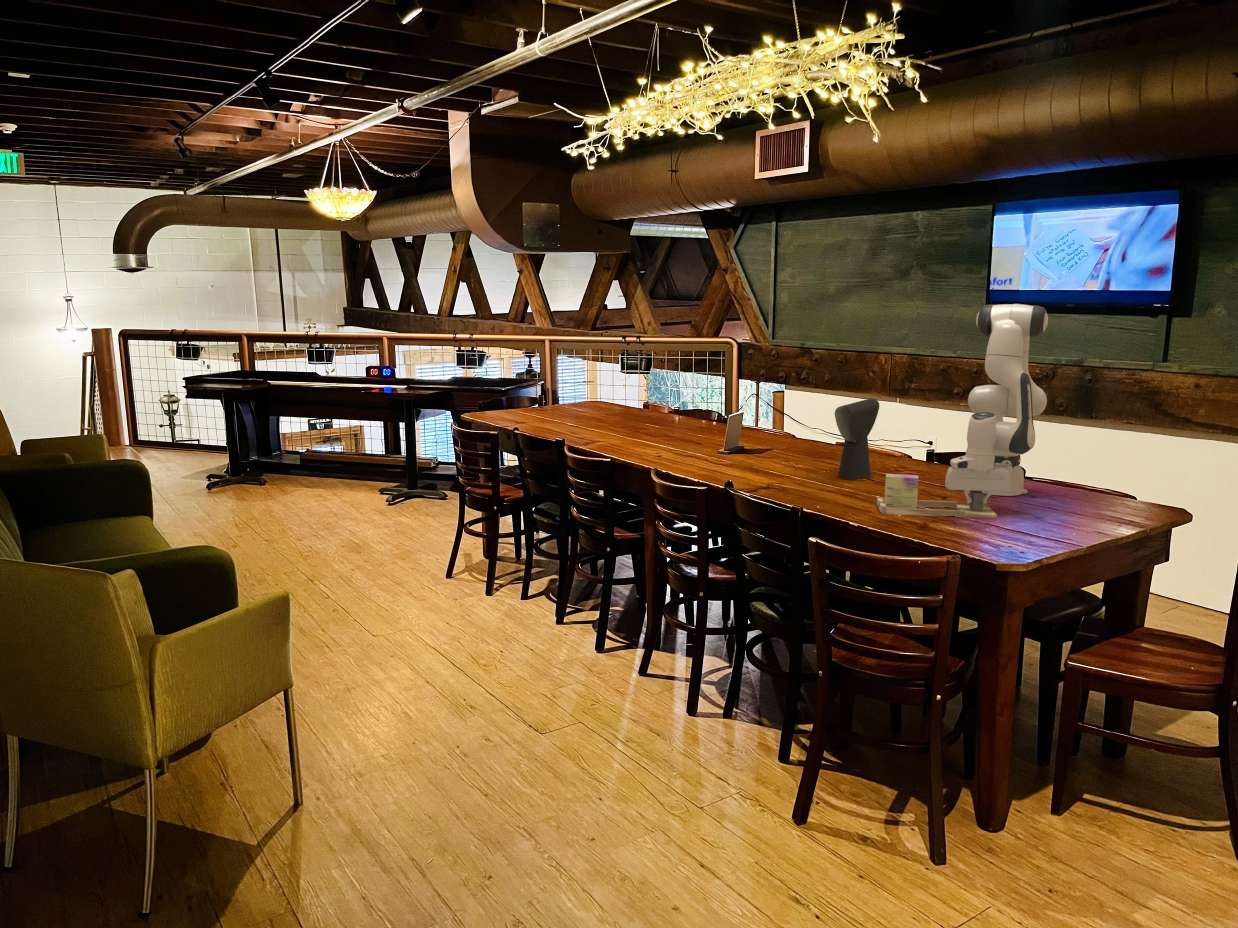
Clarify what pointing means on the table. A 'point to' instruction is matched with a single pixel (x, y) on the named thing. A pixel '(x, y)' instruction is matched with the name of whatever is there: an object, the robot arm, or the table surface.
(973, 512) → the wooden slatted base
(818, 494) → the table surface
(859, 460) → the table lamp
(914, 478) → the box
